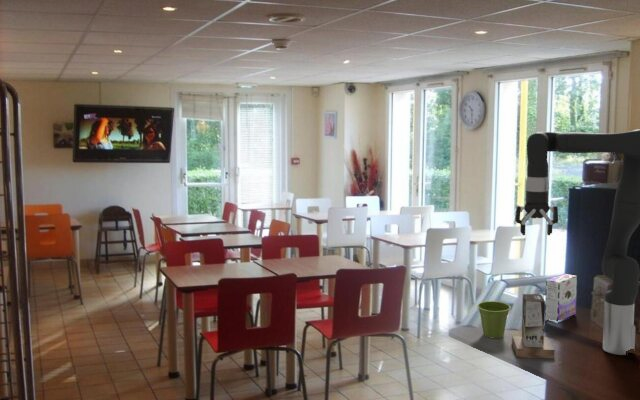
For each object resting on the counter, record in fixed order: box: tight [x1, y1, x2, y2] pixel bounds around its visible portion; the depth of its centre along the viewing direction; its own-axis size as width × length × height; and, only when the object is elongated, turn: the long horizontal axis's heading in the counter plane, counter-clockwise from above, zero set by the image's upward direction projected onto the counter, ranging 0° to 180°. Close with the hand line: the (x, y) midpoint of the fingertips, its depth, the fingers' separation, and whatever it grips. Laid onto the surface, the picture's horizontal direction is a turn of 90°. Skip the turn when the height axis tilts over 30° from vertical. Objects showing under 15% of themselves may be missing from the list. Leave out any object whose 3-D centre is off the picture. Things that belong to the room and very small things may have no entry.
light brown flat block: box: [511, 335, 556, 359], centre depth 228 cm, size 12×12×3 cm
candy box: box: [544, 273, 578, 321], centre depth 260 cm, size 14×6×16 cm, turn 130°
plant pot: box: [476, 300, 512, 339], centre depth 243 cm, size 12×12×11 cm
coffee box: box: [521, 293, 545, 348], centre depth 226 cm, size 9×6×16 cm
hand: (536, 234), depth 235 cm, fingers open, 8 cm apart
